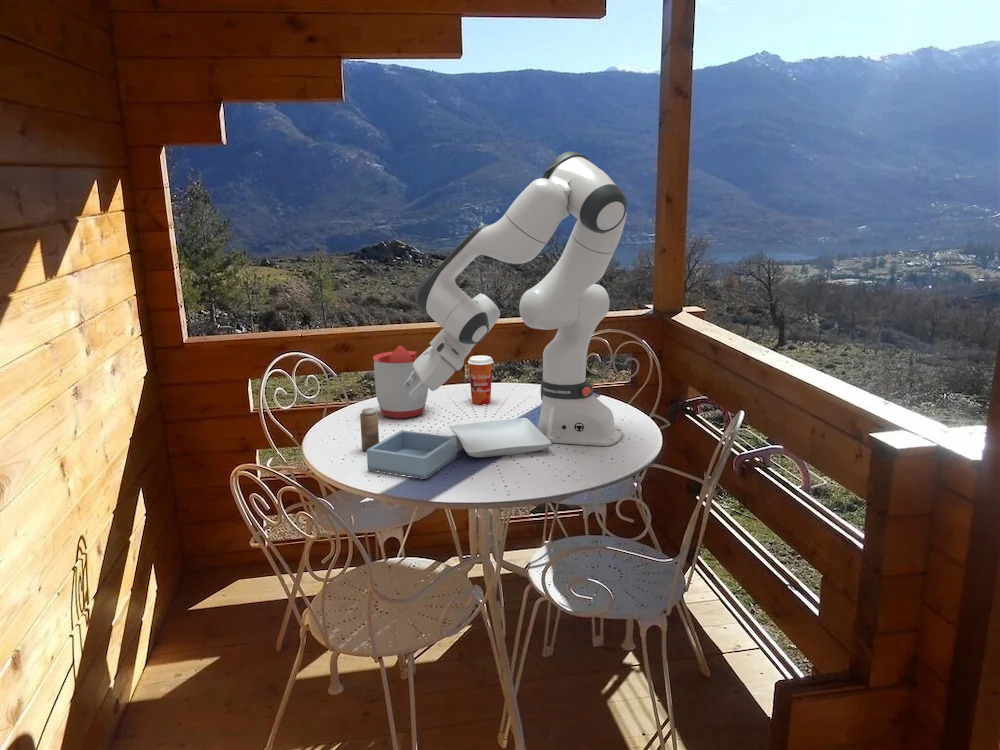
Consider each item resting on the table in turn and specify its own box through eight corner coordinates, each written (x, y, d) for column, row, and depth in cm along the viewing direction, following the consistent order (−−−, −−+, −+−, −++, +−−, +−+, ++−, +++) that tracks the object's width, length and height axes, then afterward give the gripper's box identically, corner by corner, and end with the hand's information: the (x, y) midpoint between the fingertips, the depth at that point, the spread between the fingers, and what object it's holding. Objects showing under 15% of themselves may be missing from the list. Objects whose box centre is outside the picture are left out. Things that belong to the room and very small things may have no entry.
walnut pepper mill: (382, 447, 169) (380, 408, 166) (373, 452, 165) (371, 413, 163) (368, 445, 170) (366, 406, 168) (358, 450, 167) (356, 411, 164)
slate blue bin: (456, 457, 161) (456, 437, 160) (426, 480, 148) (425, 458, 147) (402, 449, 167) (401, 430, 166) (367, 470, 154) (366, 449, 152)
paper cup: (467, 406, 204) (466, 360, 201) (469, 399, 211) (468, 355, 208) (493, 406, 204) (493, 360, 200) (494, 399, 211) (494, 355, 208)
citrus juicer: (445, 413, 197) (443, 345, 192) (393, 425, 186) (390, 353, 182) (416, 401, 209) (413, 337, 204) (365, 412, 198) (361, 345, 193)
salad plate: (467, 464, 158) (466, 450, 157) (449, 436, 178) (448, 424, 177) (553, 455, 163) (553, 442, 162) (526, 429, 183) (526, 417, 182)
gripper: (431, 334, 175) (394, 374, 175) (445, 350, 155) (404, 394, 155) (448, 350, 177) (412, 389, 177) (464, 367, 158) (424, 411, 158)
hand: (408, 392), depth 166 cm, fingers open, 8 cm apart
